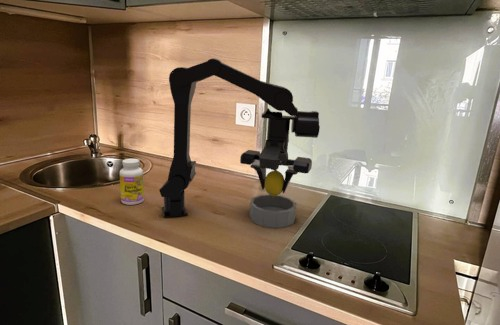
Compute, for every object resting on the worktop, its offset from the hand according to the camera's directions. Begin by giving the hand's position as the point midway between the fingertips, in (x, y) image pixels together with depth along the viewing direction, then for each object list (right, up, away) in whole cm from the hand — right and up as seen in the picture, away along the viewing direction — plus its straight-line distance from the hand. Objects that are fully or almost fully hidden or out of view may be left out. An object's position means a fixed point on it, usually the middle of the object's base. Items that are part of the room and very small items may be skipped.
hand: (273, 190), depth 89 cm
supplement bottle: (-42, -4, +9) cm, 43 cm away
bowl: (0, -8, +2) cm, 8 cm away
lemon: (0, -2, +1) cm, 2 cm away
